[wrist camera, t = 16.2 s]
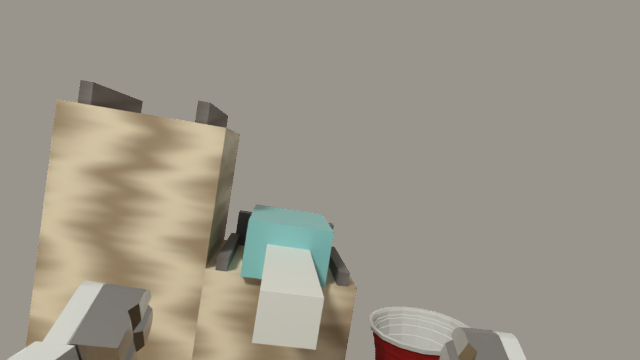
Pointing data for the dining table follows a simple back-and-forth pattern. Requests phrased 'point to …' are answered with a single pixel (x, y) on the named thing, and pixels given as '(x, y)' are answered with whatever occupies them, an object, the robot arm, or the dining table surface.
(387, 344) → the plastic cup
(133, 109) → the zigzag stepped block
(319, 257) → the plug
